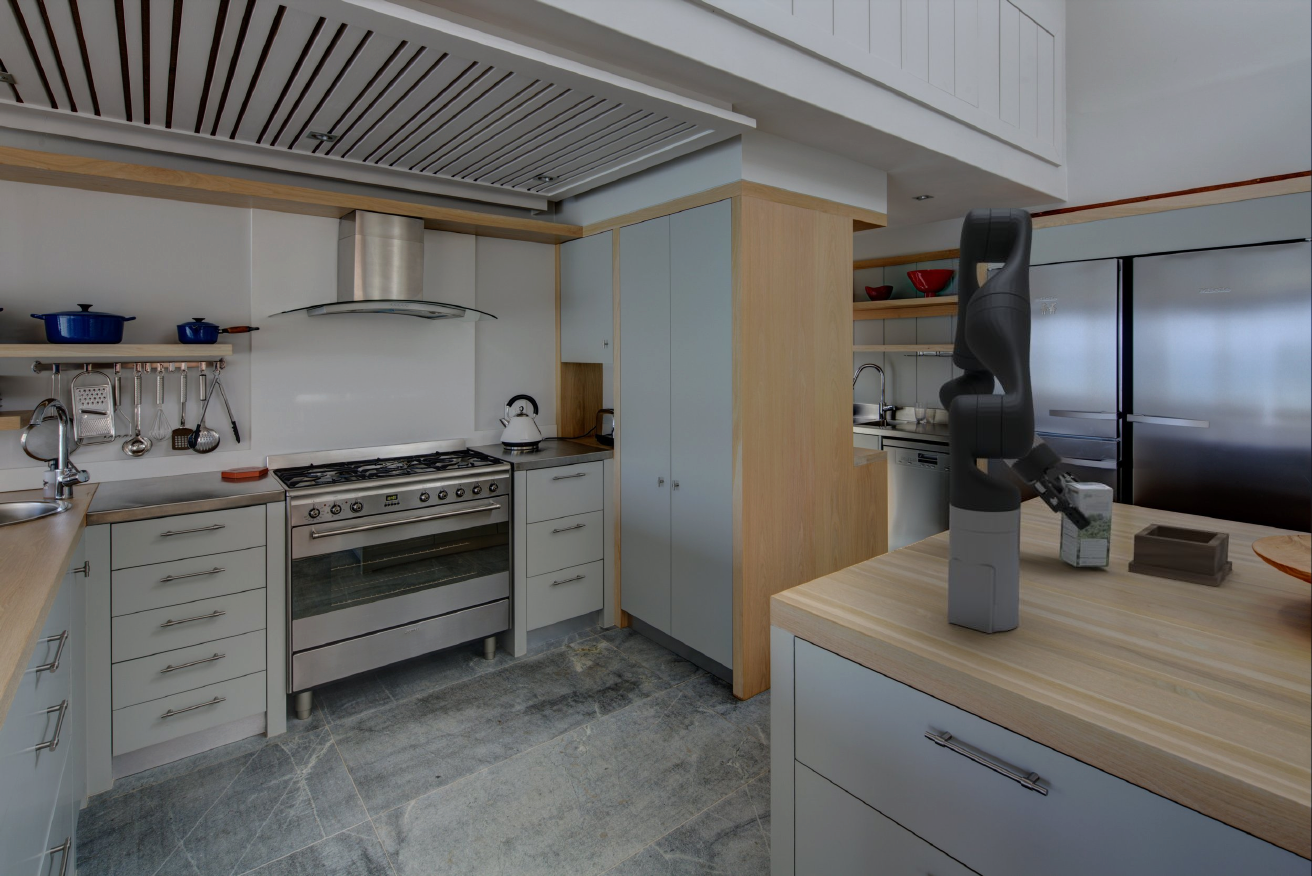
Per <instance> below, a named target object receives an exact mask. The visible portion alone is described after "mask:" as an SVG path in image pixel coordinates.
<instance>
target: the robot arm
mask: <svg viewBox="0 0 1312 876" xmlns="http://www.w3.org/2000/svg"><path fill="white" fill-rule="evenodd" d="M1032 242H1033V219H1032V216H1031V213H1030V211H1028V210H1027V209H1024V208H1019V207H1018V208H1017V207H1012V208H1011V207H1008V208H1007V207H1005V208H1004V207H1003V208H1001V207H1000V208H976V209H971V210H970V211H969V212H967V214H966V215H965V217H964V221H963V224H962V228H961V232H960V241H959V251H958V252H959V253H958V256H959V257H958V274H957V275H958V276H957V319H956V330H955V337H954V342H953V349H952V361H953V364H954V365H955V367H956V368H959V369H961V370H963V374H962V375H960V376H958V377H956V378H953V379H950V380H949V381H946V382H945V383H944V384H943V385H941V386H940V388H939V391H938V398H939V401H940V403H941V405H942V407H943V408H944V410H945V411H946V412H947V414H948V416H947V426H948V427H947V428H948V433H947V434H948V446H949V448H948V449H949V467H950V468H949V472H950V473H949V477H950V478H949V484H950V485H949V527H948V528H949V529H948V531H949V533H948V535H949V537H948V543H949V544H948V546H949V547H948V564H947V565H948V571H947V572H948V577H947V578H948V579H947V580H948V581H947V583H948V584H947V586H948V589H947V592H948V593H947V598H948V599H947V621H948V622H947V623H951V624H955V625H959V626H962V627H965V628H969V629H972V630H977V631H980V632H985V633H987V634H993V633H994V632H995V633H996V632H1006V631H1010V630H1014V629H1016V628H1017V627H1018V626H1019V624H1020V623H1019V617H1020V615H1019V613H1020V563H1021V562H1020V561H1021V555H1020V554H1021V522H1022V521H1021V517H1022V513H1021V512H1022V507H1021V506H1022V493H1021V490H1020V488H1019V487H1018V486H1017V485H1015V484H1013V483H1011V482H1009V481H1005V480H1002V479H999V478H996V477H994V476H992V475H990V474H989V473H986V472H985V471H983V470H982V469H980V468H979V467H978V466H976V464H975V463H974V462H975V461H974V460H975V459H976V460H979V459H982V460H983V459H984V460H1003V461H1004V462H1005V463H1006V465H1007V466H1008V467H1009V468H1010V469H1011V470H1012V471H1013V472H1014V474H1016V475H1017V476H1018V477H1019V478H1020V479H1021V480H1022V482H1024V483H1025V484H1026V485H1032V486H1031V489H1032V490H1033V491H1034V493H1035V494H1037V496H1038V497H1039V498H1040V499H1041V500H1042V501H1043V503H1045V504H1046V506H1048V507H1049V508H1050V510H1051V511H1052V512H1053V513H1054V514H1057V513H1060V515H1061V514H1064V515H1065V516H1066V517H1067V518H1068V519H1069V520H1070V521H1071V522H1072V523H1073V524H1074V525H1075V526H1076V527H1077V528H1078V529H1079V530H1083V529H1085V528H1086V527H1088V526H1089V525H1090V524H1091V521H1090V520H1089V519H1088V518H1087V517H1086V516H1085V515H1084V514H1083V513H1082V512H1081V511H1080V510H1079V509H1078V508H1077V507H1076V506H1075V505H1074V503H1073V502H1072V500H1071V493H1070V491H1069V489H1068V487H1067V486H1066V483H1083V481H1081V480H1080V479H1079V477H1077V476H1076V475H1075V474H1074V473H1073V472H1072V471H1071V470H1069V469H1066V471H1064V472H1063V471H1061V470H1060V469H1058V466H1059V465H1061V463H1062V461H1063V459H1062V458H1061V456H1060V455H1058V454H1057V452H1055V450H1054V449H1053V448H1052V447H1050V446H1049V445H1048V443H1046V442H1045V441H1044V440H1043V438H1042V437H1040V435H1038V434H1037V433H1036V431H1035V425H1036V422H1035V409H1034V400H1033V391H1032V390H1033V389H1032V379H1031V378H1032V377H1031V367H1030V366H1031V334H1032V308H1031V293H1030V292H1031V291H1030V290H1031V289H1030V265H1031V253H1032ZM978 264H1003V265H1002V267H1001V268H1000V269H999V270H998V271H997V272H995V274H993V275H992V276H991V277H990V278H988V279H987V280H986V281H985V282H984V283H983V284H982V285H981V286H980V283H979V279H978V271H977V269H978V267H977V265H978ZM995 379H996V380H997V381H998V383H999V384H1000V386H1001V387H1002V390H1003V392H1004V393H1003V394H1001V393H994V391H995V387H996V381H995ZM1033 484H1034V485H1033ZM1074 506H1075V507H1074ZM1073 507H1074V508H1073Z"/></svg>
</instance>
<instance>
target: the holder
mask: <svg viewBox="0 0 1312 876" xmlns="http://www.w3.org/2000/svg"><path fill="white" fill-rule="evenodd" d="M1133 538H1134V539H1133V558H1132V560H1130V561H1129V562H1128V569H1127V572H1132V573H1136V574H1137V573H1138V574H1143V575H1149V576H1152V577H1153V576H1155V577H1159V578H1160V577H1161V578H1165V579H1171V580H1177V581H1182V582H1189V583H1194V584H1199V585H1205V586H1210V587H1216V588H1217V587H1218V586H1219V585H1220V584H1221V583H1222V582H1223V581H1224V580H1225V578H1227V576H1228V575H1229V574H1230V573H1231V572H1232V571H1231V570H1233V561H1231V560H1229V546H1230V545H1229V542H1230V533H1227V532H1220V531H1219V532H1218V531H1213V530H1205V529H1196V528H1187V527H1180V526H1172V525H1166V524H1158V523H1157V524H1156V523H1150V524H1149V525H1147V526H1146V527H1144V528H1143V529H1141V530H1140V531H1138V532H1137V533H1135V534H1134V536H1133ZM1230 571H1231V572H1230Z"/></svg>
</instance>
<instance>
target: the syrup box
mask: <svg viewBox="0 0 1312 876" xmlns="http://www.w3.org/2000/svg"><path fill="white" fill-rule="evenodd" d="M1066 486H1067V487H1068V489H1069V491H1070V493H1071V500H1072V502H1073V503H1074V505H1075V506H1076V507H1077V508H1078V509H1079V510H1080V511H1081V512H1082V513H1083V514H1084V515H1085V516H1086V517H1087V518H1088V519H1089V520H1090V521H1091V524H1090V525H1089V526H1088V527H1086V528H1085V529H1083V530H1079V529H1078V528H1077V527H1076V526H1075V525H1074V524H1073V523H1072V522H1071V521H1070V520H1069V519H1068V518H1067V517H1066V516H1065V515H1064V514H1061V513H1060V515H1061V516H1060V537H1059V559H1061V560H1062V561H1064V562H1066V563H1068V564H1070V565H1072V566H1073V567H1076V568H1077V567H1078V568H1079V567H1080V568H1100V567H1101V568H1107V567H1109V566H1110V552H1111V551H1110V550H1111V535H1112V532H1111V531H1112V519H1113V504H1114V503H1113V501H1114V489H1113V488H1112V487H1110V486H1108V485H1107V484H1103V483H1101V482H1082V483H1066ZM1075 506H1074V507H1075ZM1074 507H1073V508H1074Z"/></svg>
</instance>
